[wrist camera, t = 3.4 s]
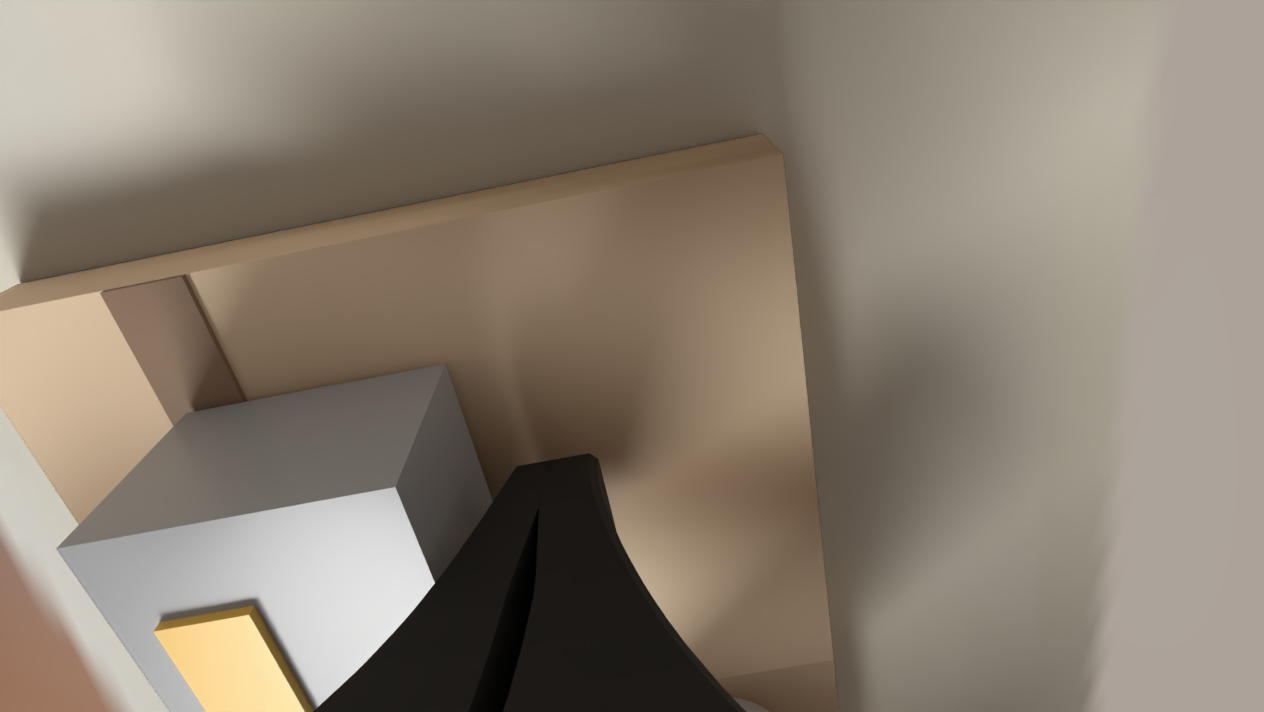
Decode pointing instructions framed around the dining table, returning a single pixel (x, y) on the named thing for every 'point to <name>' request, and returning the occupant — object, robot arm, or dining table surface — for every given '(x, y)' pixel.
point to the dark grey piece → (750, 706)
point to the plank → (503, 370)
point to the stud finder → (282, 539)
